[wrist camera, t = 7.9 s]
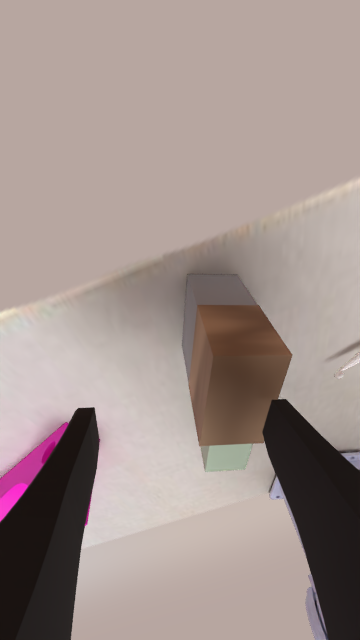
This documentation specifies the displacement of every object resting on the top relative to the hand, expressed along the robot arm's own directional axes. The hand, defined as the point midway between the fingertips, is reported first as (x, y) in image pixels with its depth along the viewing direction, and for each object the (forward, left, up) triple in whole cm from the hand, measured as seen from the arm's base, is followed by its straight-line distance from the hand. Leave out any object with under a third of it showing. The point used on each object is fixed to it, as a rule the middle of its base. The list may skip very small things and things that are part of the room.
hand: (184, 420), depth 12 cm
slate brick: (-3, +1, -10) cm, 11 cm away
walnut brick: (-3, +1, -6) cm, 7 cm away
